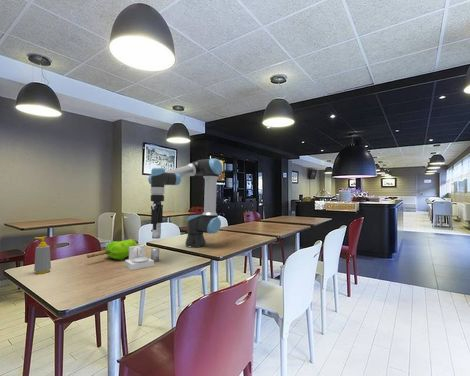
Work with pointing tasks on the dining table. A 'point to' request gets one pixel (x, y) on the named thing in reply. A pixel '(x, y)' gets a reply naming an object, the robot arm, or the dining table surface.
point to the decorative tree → (117, 249)
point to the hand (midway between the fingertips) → (156, 234)
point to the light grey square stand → (138, 258)
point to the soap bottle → (42, 257)
